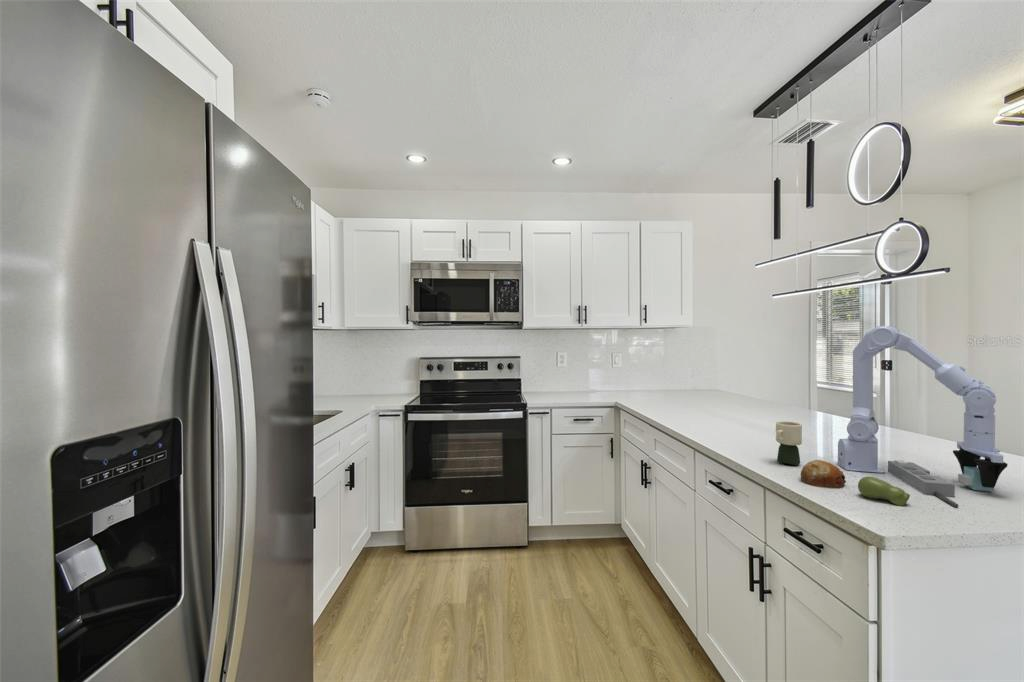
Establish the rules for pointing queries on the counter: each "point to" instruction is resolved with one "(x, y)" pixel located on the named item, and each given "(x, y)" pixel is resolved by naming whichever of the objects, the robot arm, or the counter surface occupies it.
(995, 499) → the counter surface
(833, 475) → the bread roll
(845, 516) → the counter surface
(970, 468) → the block
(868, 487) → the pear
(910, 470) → the power strip
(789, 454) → the character mug
